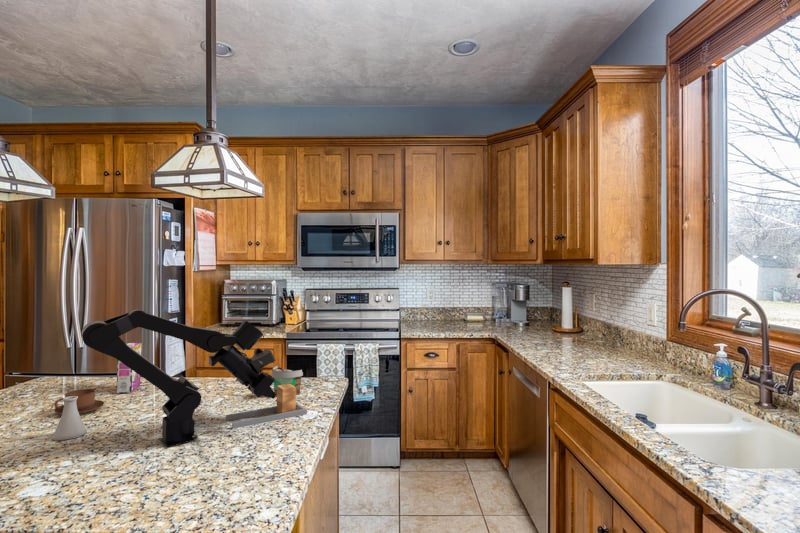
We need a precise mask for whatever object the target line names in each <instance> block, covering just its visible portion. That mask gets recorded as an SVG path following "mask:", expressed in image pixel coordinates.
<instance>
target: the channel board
mask: <svg viewBox="0 0 800 533" xmlns="http://www.w3.org/2000/svg"><path fill="white" fill-rule="evenodd" d="M307 409H308V408H306V407H304V406H303V405H301V404H300V403H298V402H296V411H291V412H286V413H280V414H278V413H277V405H275V406H270V407H269V406H268V407H264V408H258V409H253V410H246V411H243V412H242V411H241V412H235V413H230V414H226V415H225V422H229V421H234V420H237V421H234V422H232V423H231V424H232V425H231V429H232V430H235V429H239V428H244V427H249V426H253V425H254V426H255V425H259V424H265V423H269V422H275V421H279V420H280V421H281V420H284V419H285V420H286V419H289V418H295V417H299V416H300V417H301V416H306V415H308V410H307ZM271 413H275V414H271ZM265 414H270V415H265ZM260 415H265V416H260ZM255 416H256V417H255ZM257 416H258V417H257ZM259 416H260V417H259ZM250 417H255V418H250ZM244 418H245V419H244ZM246 418H250V419H246ZM238 419H239V421H238ZM240 419H243V420H240Z"/></svg>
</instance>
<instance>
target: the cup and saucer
mask: <svg viewBox="0 0 800 533" xmlns="http://www.w3.org/2000/svg"><path fill="white" fill-rule="evenodd" d="M69 396H78V398H77V400H76V404H77V409H78V412H79V415H80V416H81V415H85V414H88V413H89V414H90V413H92V412H95V411H97V410H100V409H101V408H102V407H103V406H104V405H105V402H104V400H98V399H96V389H94V388H81V389H75V390H71V391H67V392H66V393H65V394H64V397H61V398H58V399H57V400H56V401H55V402H54V404H53V405H54V411H55V412H54V413H56V414H57V415H60V416H62V413H63V408H64V404H62V405H58V403H59V402H61V401H62V402H63V398H65V397H69Z"/></svg>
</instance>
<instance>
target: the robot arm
mask: <svg viewBox="0 0 800 533" xmlns="http://www.w3.org/2000/svg"><path fill="white" fill-rule="evenodd" d="M137 328H142V329H144V330H148V331H152V332H155V333H159V334H163V335H166V336H169V337H172V338H175V339H179V340H183V341H186V342H187V343H189V344H191V345H193V346H196V347H198V348H200V349H202V350H203V351H205V352H208V353H211V354H208V365H209V366H211V367H214V366H216V365H217V363H218V364H220V365H221V366H222V367H223V368H224V369H225V370H227V371H228V372H229V373H230V374H231V375H232V376H234V378H236V381H237V382H239V383H240V384H241V385H242V386H245V387H247V389H248V391H250V392H251V393H252V394H253V395H254V396H256V397H257V398H258V399H259V398H261V397H262V396H263V397H266V398H268V399H269V398H270V399H273V400H274V399H276V398H277V395H276V394H275V393H274V389H273V388H272V387H271V386H272V385H274V381H275V379H274V378H273V376H272V375H271V374H270V373H268V372H263V371H264V369H263V368H264V367H267V366H268V365H270V364H273V363H275V362H276V358H275V356H274V354H273V352H272V350H271V349H268V348H264V349H261V348H260V347H257V348H256V349H254V350H253V355H252V357H248V356H246V355H245V354H244V353H242V352H241V351H243V352H244V351H250V350H251V349H252V348H254V346H255V345H256V344H257V343H258V342H259V340H260V339H261V338H263V336H264V333H262V331H261V330H260V329H259V328H258V327H255V326H254V325H253V324H251V323H250V322H249V321H248V320H243V321H242V322H241V323H240V324H239V326H238V327H237V328H236V329H235V330H234V331H233V332H232V333H231V334H230V333H228V332H226V333H222V332H220V331H218V330H215V329H213V328H207V327H201V326H198V327H197V326H191V325H185V324H182V323H179V322H176V321H173V320H170V319H167V318H164V317H160V316H157V315H155V314H152V313H147V312H146V311H144V310H142V309H132V310H131V311H128V312H126V313H124V314H120V315H118V316H114V317H111V318H108V319H106V320H104V321H103V320H92V321H90V322H88V323H86V324H85V325H84V326H83V328H82V330H81V335H80V336H81V339H82V342H83V343H84V345H85V346H87V347H88V348H90V349H93V350H95V351H97V352H99V353H101V354H103V355H104V354H105V355H107V356H109V357H112V358H114V359H115V360H117V361H118V360H119V361H120V362H122V363H123V364H125V365H126V366H127V367H129V368H130V369H132V370H133V371H134V372H136V373H137V374H139V375H140V377H142V378H143V379H145V380H146V381H147V382H149V383H150V384H151V385H153V386H154V387H156V388H158V390H160V391H162V393H163V394H164V395H165V396H166V397H167V398H168V400H166V402H165V403H164V404H163V405H162V406H161V409H162V411H163V413H164V415H165V416H163V417H162V424H161V427H162V428H161V431H162V432H161V437H159V441H160V442H161V443H162V444H163V445H164V446H165V447H166V448H170V447H174V446H177V445H182V444H185V443H189V442H193V441H195V440H196V439H195V437H194V436H195V425H196V423H195V419H194V417H193V416H194V413H195V410H196V409H198V408H199V406H200V404H201V402H202V394H201V393H200V392H199V391H198V390H200V388H199V387H198V386H197V385H195V383H193V382H190V381H189V380H188V379H187V378H186V377H184V375H180V376H179V377H178V379H177V378H175V377H172V376H170V375H169V374H168V373H166V372H165V371H164V370H162V369H161V368H159V367H158V366H156V365H155V363H152V362H151V361H150V360H149V359H147V358H146V357H145V356H143V355H142V354H141V355H140V354H139V353H138V352H136V351H135V350H133V349H132V348H131V347H129V346H128V345H127V343H126V342H125V341H124V340H123V339H122V337H121V336H123V335H125V334H127V333H128V332H130V331H132V330H134V329H137ZM236 347H237V348H236ZM239 349H240V350H241V351H240V350H239Z"/></svg>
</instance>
